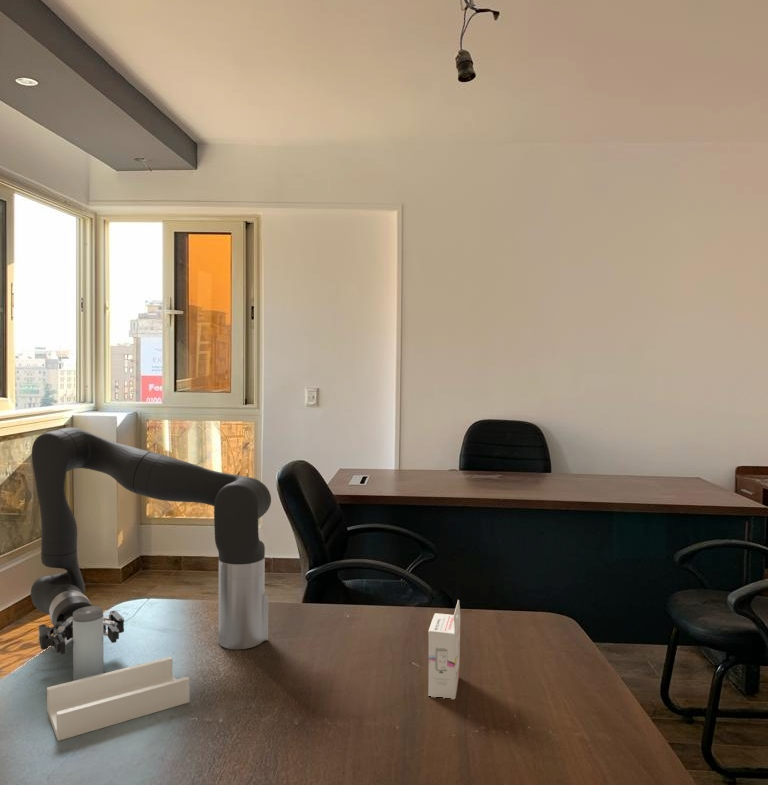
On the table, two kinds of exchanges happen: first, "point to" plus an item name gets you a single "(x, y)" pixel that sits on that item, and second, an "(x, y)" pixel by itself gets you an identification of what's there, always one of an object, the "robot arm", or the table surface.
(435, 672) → the ink cartridge box
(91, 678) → the tray
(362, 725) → the table surface
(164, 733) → the table surface
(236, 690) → the table surface
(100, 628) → the grey capped cylinder
